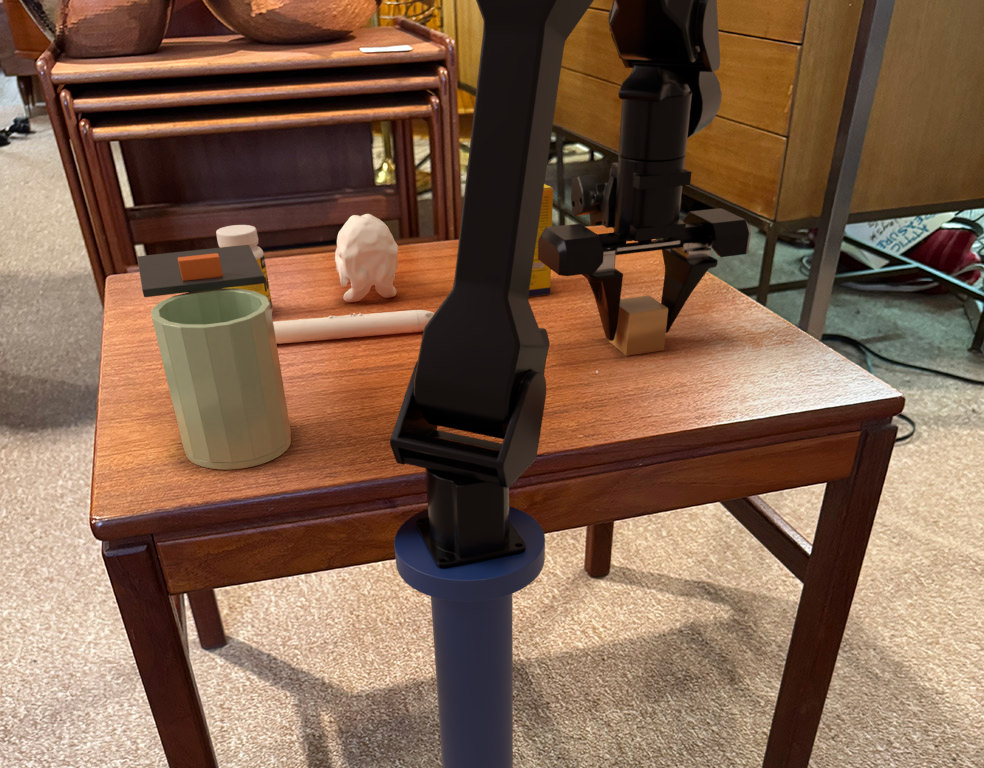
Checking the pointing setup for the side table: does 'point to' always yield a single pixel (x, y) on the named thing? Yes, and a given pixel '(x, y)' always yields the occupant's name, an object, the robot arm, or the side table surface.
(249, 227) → the supplement bottle
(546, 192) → the supplement box
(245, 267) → the slider
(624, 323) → the block
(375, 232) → the penguin figurine
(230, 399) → the tumbler
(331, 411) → the side table surface
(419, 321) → the white rod
